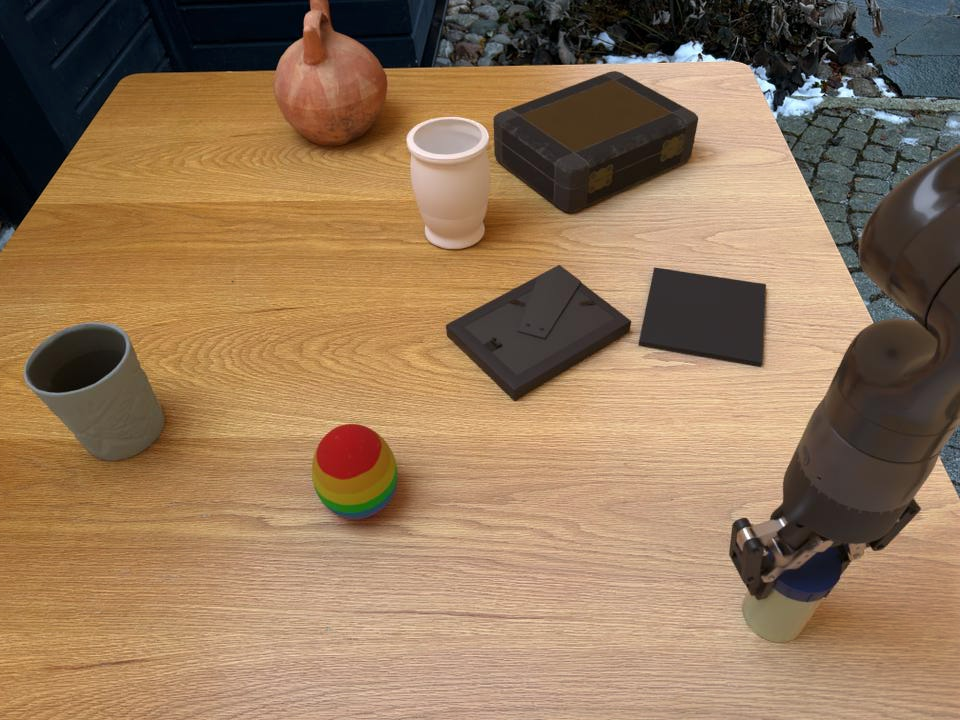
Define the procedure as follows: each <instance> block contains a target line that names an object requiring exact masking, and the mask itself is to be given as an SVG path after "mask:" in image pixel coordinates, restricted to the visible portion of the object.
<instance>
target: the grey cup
mask: <svg viewBox="0 0 960 720" xmlns="http://www.w3.org/2000/svg"><path fill="white" fill-rule="evenodd" d="M23 378H24V382H25V383H26V385H27V387H28V388H29V389H30V391H32V392H33V393H34V394H35V395H36V396H37V398H38V399H40V400H41V401H42V403H44V404H45V406H46V407H47V408H48V409H49V411H51V412H52V413H53V415H55V416H56V417H57V418H58V419H59V421H61V422H62V423H63V425H65V427H66V428H67V429H68V430H69V431H70V432H72V433H73V434H74V437H75V439H76V440H77V441H78V442H79V444H81V446H83V448H84V449H85V450H86V451H87V452H88V453H89V454H90V455H92V456H93V457H94V458H97V459H100V460H102V461H107V462H114V461H115V462H116V461H121V460H127V459H129V458H131V457H134V456H136V455H139V454H140V453H142V452H143V451H145V450H146V449H148V448H149V447H150V446H151V445H153V444H154V442H156V441H157V439H158V438H159V437H160V435H161V434H162V431H163V429H164V426H165V415H164V411H163V409H162V406H161V404H160V402H159V400H158V398H157V396H156V393H155V392H154V390H153V386H152V384H151V382H150V381H149V378H148V375H147V373H146V372H145V371H144V369H143V368H142V367H141V362H140V360H139V359H138V355H137V353H136V350H135V348H134V346H133V343H132V341H131V339H130V337H129V335H128V334H127V332H126V331H125V330H124V329H123V328H122V327H120V326H118V325H116V324H113V323H109V322H102V321H87V322H82V323H78V324H74V325H71V326H68V327H66V328H63V329H61V330H59V331H57V332H55V333H53V334H51V335H50V336H48V337H47V338H46V339H45V340H43V341H41V342H40V343H39V344H38V345H37V346H36V347H35V348H34V350H33V351H31V353H30V354H29V356H28V358H27V359H26V362H25V364H24V367H23Z"/></svg>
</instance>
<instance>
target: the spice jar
mask: <svg viewBox="0 0 960 720" xmlns="http://www.w3.org/2000/svg"><path fill="white" fill-rule="evenodd" d="M822 601H823V599H821V600H818V601H813V602H808V603H807V602H801V601H796V600H793V599H790V598H786V597H785V596H784V595H782V594H780V593H779V592H777V591H776V590H775V589H774V588H772V590H771V592H770V593H769V595H768V597H767V598H766V599H762V600H757V599H756V598H755V596H751V594H750V592H749V590H748V589H747V591H746V594H745V595H744V597H743V600H742V604H741V607H742V608H741V610H742V615H743V618H744V621H745V622H746V624H747V625H748V627H749V628H750V629H751V630H752V632H754V633H755V634H756V635H758V637H760V638H762V639H764V640H766V641H770V642H772V643H788V642H790V641H793V640H795V639H796V638H797V637H799V636H800V634H801V633H802V632H803V630H804V629H805V627H806V625H807V624H808V622H809V621H810V619H811V618H812V616H813V615H814V613H815V612H816V610H817V609H818V608H819V606H820V604H821V602H822Z"/></svg>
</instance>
